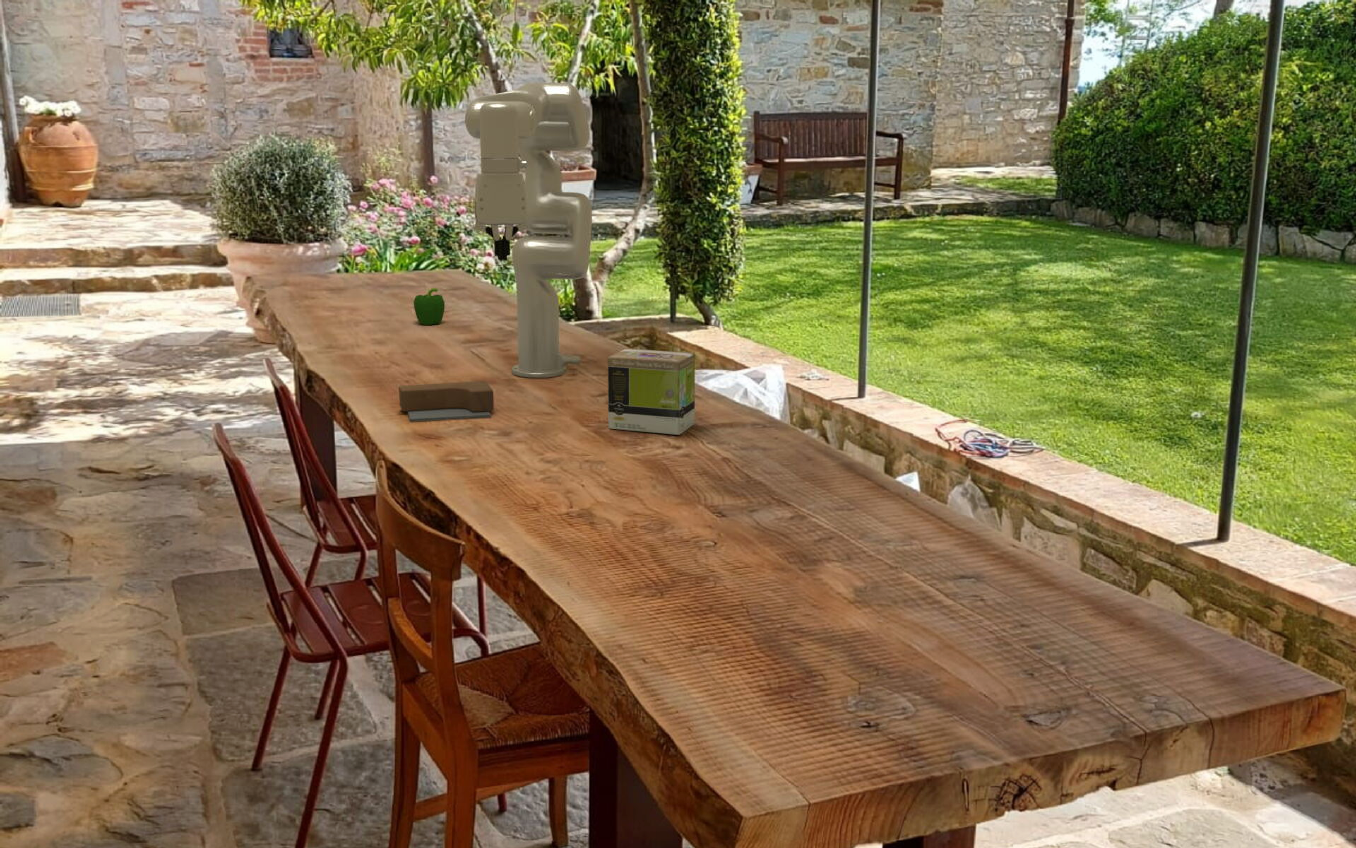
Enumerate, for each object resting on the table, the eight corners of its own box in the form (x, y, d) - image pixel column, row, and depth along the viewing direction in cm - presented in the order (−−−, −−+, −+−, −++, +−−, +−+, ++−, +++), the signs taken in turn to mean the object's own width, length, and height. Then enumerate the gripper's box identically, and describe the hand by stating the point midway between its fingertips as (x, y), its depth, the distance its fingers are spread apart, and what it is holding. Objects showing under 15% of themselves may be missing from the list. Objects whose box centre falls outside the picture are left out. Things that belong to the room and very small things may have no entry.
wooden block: (493, 389, 262) (403, 395, 256) (494, 411, 263) (404, 417, 257) (485, 380, 270) (398, 385, 264) (486, 401, 271) (399, 406, 266)
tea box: (695, 424, 257) (696, 351, 253) (679, 437, 248) (680, 361, 244) (625, 417, 262) (625, 346, 258) (606, 429, 253) (606, 355, 249)
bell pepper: (408, 325, 357) (407, 289, 354) (422, 320, 364) (421, 285, 362) (436, 327, 354) (434, 291, 352) (449, 322, 362) (448, 286, 359)
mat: (482, 401, 273) (482, 398, 273) (490, 417, 260) (490, 414, 260) (405, 405, 269) (405, 402, 269) (410, 421, 256) (410, 419, 256)
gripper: (534, 165, 261) (536, 256, 266) (460, 166, 257) (463, 258, 262) (540, 168, 254) (542, 261, 259) (464, 168, 250) (467, 263, 255)
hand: (502, 259), depth 260 cm, fingers closed
